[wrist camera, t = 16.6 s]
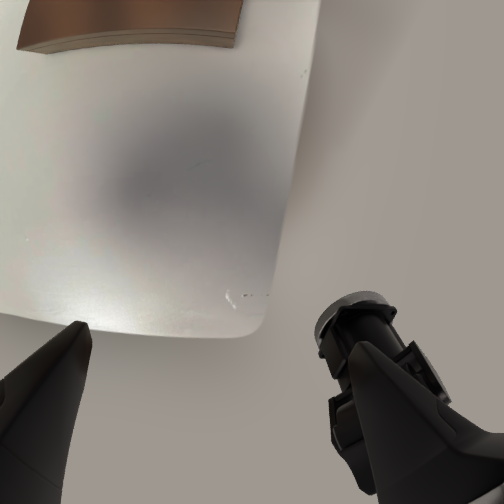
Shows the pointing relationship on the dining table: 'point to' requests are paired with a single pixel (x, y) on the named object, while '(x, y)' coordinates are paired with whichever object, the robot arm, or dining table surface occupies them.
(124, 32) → the wooden jewelry box
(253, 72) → the dining table surface
